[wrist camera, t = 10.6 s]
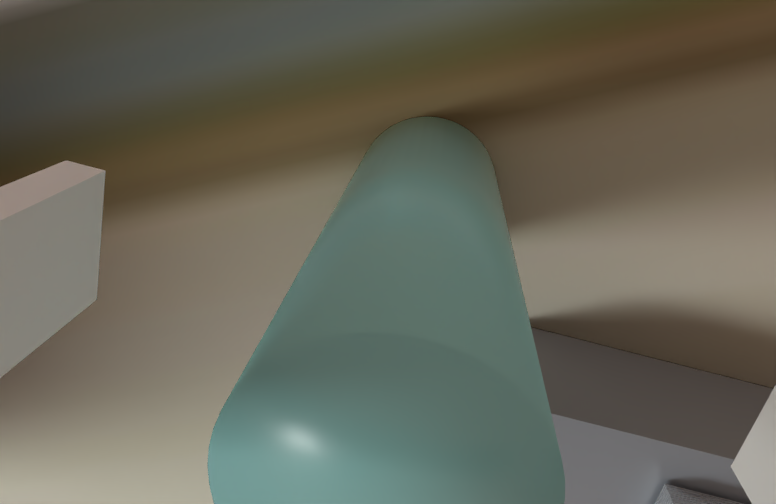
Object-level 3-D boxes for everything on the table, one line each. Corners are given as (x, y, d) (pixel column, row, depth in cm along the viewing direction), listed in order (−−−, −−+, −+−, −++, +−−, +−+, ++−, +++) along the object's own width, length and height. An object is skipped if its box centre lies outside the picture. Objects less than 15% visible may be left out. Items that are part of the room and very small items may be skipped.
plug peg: (346, 230, 22) (189, 573, 9) (375, 101, 20) (233, 290, 7) (473, 262, 22) (502, 653, 9) (513, 136, 20) (621, 388, 7)
